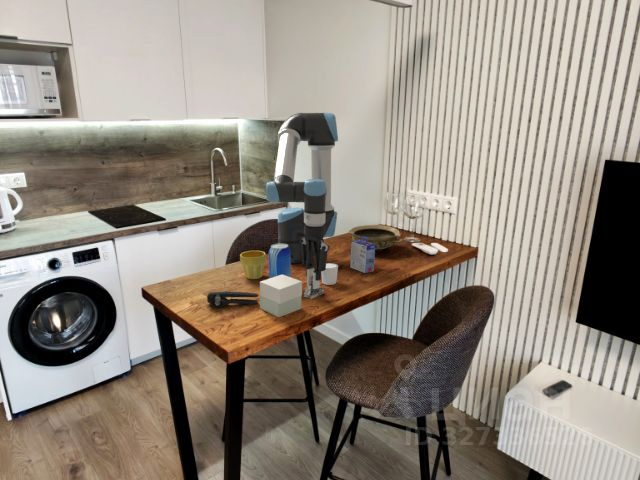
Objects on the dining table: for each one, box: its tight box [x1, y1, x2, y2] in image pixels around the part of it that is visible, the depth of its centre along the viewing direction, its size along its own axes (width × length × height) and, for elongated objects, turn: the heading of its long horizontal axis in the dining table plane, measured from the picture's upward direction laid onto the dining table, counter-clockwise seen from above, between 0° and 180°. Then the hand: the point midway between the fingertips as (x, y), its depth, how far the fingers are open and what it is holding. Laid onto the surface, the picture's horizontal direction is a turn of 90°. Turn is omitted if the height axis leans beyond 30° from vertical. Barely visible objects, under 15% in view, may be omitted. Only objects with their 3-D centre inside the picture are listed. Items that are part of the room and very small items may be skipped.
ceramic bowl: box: [347, 224, 403, 253], centre depth 212 cm, size 30×24×10 cm
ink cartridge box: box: [349, 236, 376, 274], centre depth 184 cm, size 10×6×14 cm, turn 38°
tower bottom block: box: [259, 295, 302, 318], centre depth 147 cm, size 10×10×5 cm
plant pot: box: [239, 250, 267, 280], centre depth 176 cm, size 10×10×10 cm
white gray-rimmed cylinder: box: [321, 262, 339, 286], centre depth 170 cm, size 7×7×7 cm
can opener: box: [206, 290, 260, 309], centre depth 149 cm, size 18×7×6 cm, turn 98°
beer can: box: [268, 243, 292, 279], centre depth 166 cm, size 8×8×16 cm
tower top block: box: [259, 275, 303, 304], centre depth 145 cm, size 10×10×5 cm
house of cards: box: [303, 275, 325, 300], centre depth 159 cm, size 9×9×8 cm
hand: (313, 286), depth 157 cm, fingers open, 2 cm apart
